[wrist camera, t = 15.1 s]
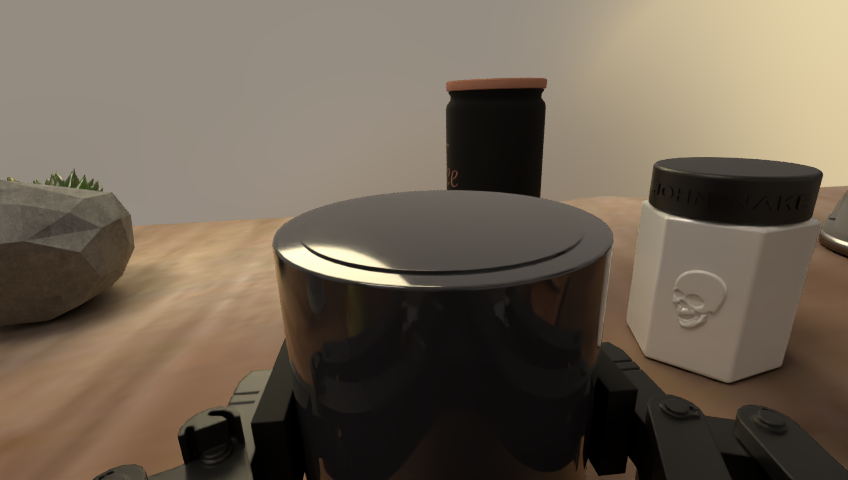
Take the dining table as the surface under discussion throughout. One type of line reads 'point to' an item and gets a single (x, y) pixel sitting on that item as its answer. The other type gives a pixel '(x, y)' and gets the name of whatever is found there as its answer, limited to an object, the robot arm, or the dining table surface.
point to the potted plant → (58, 246)
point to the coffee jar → (495, 135)
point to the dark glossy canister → (444, 335)
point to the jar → (722, 263)
